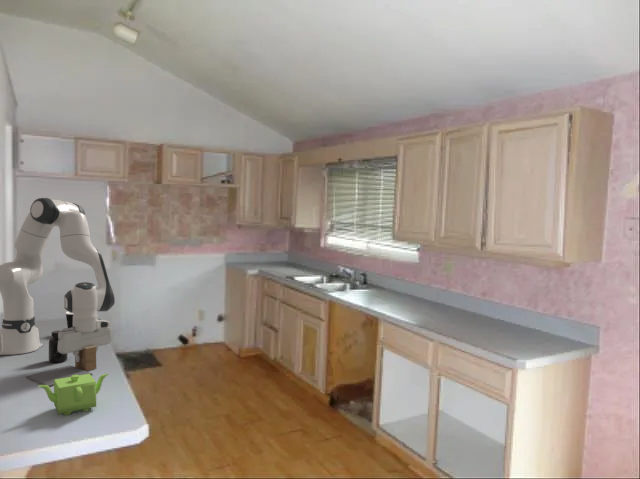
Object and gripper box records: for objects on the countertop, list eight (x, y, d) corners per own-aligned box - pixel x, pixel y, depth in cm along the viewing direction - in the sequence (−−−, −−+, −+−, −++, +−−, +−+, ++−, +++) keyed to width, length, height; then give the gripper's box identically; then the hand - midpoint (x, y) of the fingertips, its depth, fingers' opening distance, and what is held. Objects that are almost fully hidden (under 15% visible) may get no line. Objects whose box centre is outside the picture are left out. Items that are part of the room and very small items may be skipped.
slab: (75, 366, 190) (74, 344, 189) (84, 364, 193) (84, 342, 193) (86, 371, 185) (86, 347, 185) (96, 368, 189) (96, 345, 188)
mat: (26, 377, 177) (26, 375, 177) (70, 366, 190) (69, 365, 190) (48, 387, 168) (48, 385, 168) (92, 375, 181) (92, 373, 181)
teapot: (37, 417, 144) (37, 381, 144) (64, 399, 158) (64, 367, 157) (87, 419, 143) (86, 384, 143) (109, 402, 157) (109, 369, 156)
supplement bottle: (59, 363, 193) (59, 334, 193) (44, 362, 195) (44, 333, 194) (71, 358, 200) (71, 330, 199) (57, 357, 201) (56, 329, 201)
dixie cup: (73, 331, 244) (72, 310, 243) (86, 332, 242) (86, 311, 242) (61, 335, 236) (61, 313, 236) (75, 336, 235) (75, 314, 234)
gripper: (62, 331, 178) (62, 368, 179) (113, 321, 195) (113, 355, 196) (53, 328, 182) (54, 364, 182) (105, 319, 198) (105, 352, 199)
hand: (85, 359), depth 189 cm, fingers closed on slab, 4 cm apart
